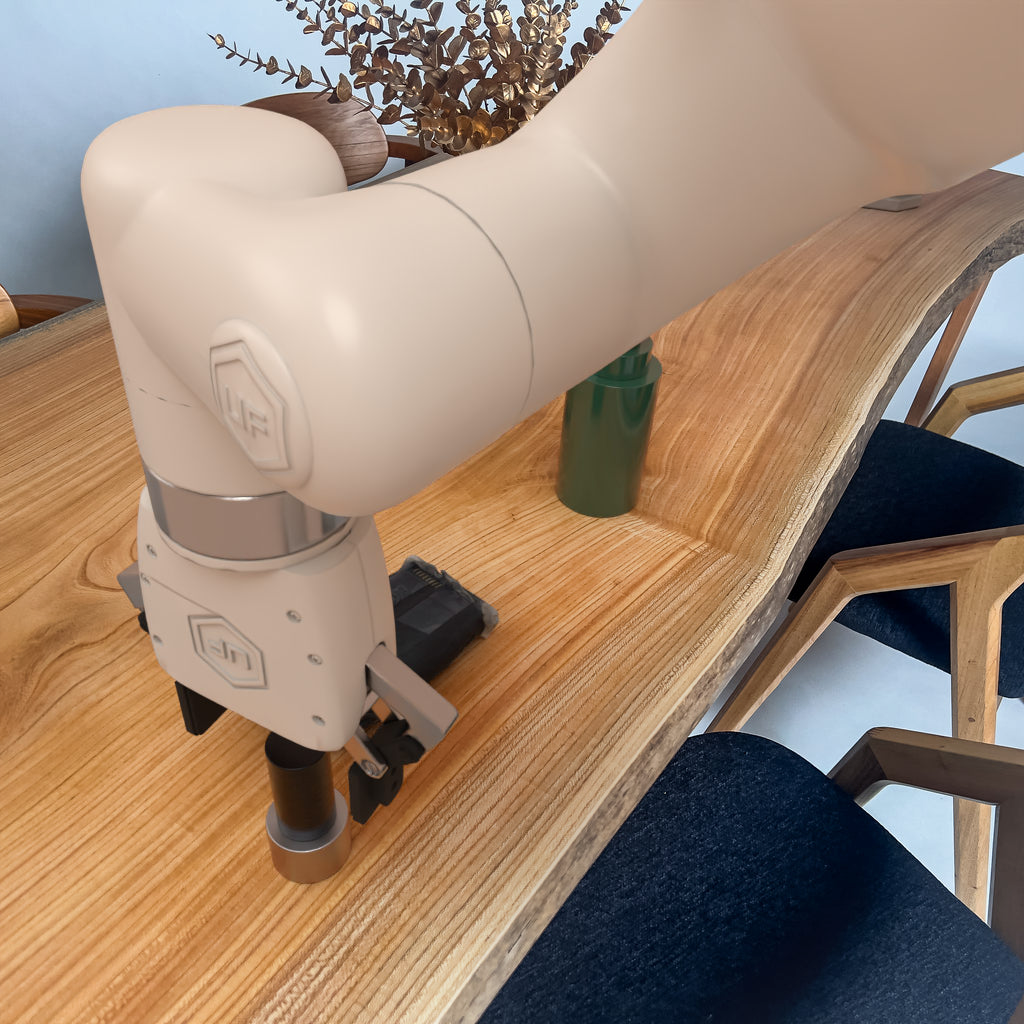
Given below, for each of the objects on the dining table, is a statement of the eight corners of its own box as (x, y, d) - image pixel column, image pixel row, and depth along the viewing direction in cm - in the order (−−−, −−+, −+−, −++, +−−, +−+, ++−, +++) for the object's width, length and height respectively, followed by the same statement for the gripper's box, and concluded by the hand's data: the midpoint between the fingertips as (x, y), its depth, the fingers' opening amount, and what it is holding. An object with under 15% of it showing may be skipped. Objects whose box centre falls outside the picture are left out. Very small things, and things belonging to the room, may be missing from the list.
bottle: (656, 501, 75) (694, 311, 64) (588, 527, 71) (616, 332, 61) (604, 458, 79) (632, 274, 68) (538, 481, 76) (556, 292, 65)
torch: (364, 859, 48) (356, 755, 43) (289, 898, 46) (271, 795, 41) (331, 800, 51) (320, 695, 45) (259, 835, 49) (238, 730, 43)
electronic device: (397, 590, 67) (221, 683, 56) (411, 533, 63) (227, 621, 53) (487, 668, 63) (317, 785, 52) (507, 612, 59) (330, 724, 49)
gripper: (1, 450, 33) (100, 736, 44) (400, 627, 28) (401, 904, 39) (151, 364, 39) (207, 638, 49) (510, 499, 33) (485, 774, 44)
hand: (292, 755), depth 44 cm, fingers open, 9 cm apart
